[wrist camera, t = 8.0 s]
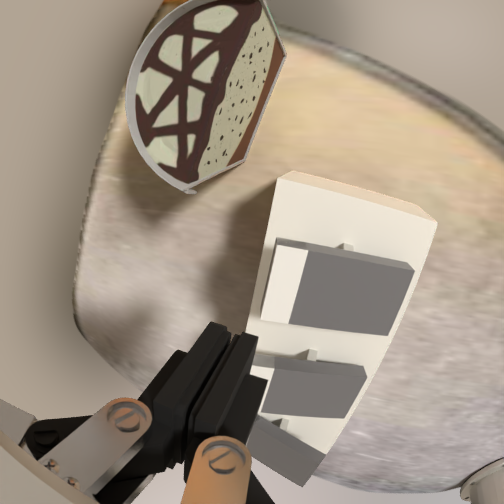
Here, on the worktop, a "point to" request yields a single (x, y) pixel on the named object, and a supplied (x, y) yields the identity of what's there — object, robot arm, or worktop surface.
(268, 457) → the switch
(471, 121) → the worktop surface
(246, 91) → the food container
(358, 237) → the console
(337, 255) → the switch
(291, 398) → the switch
